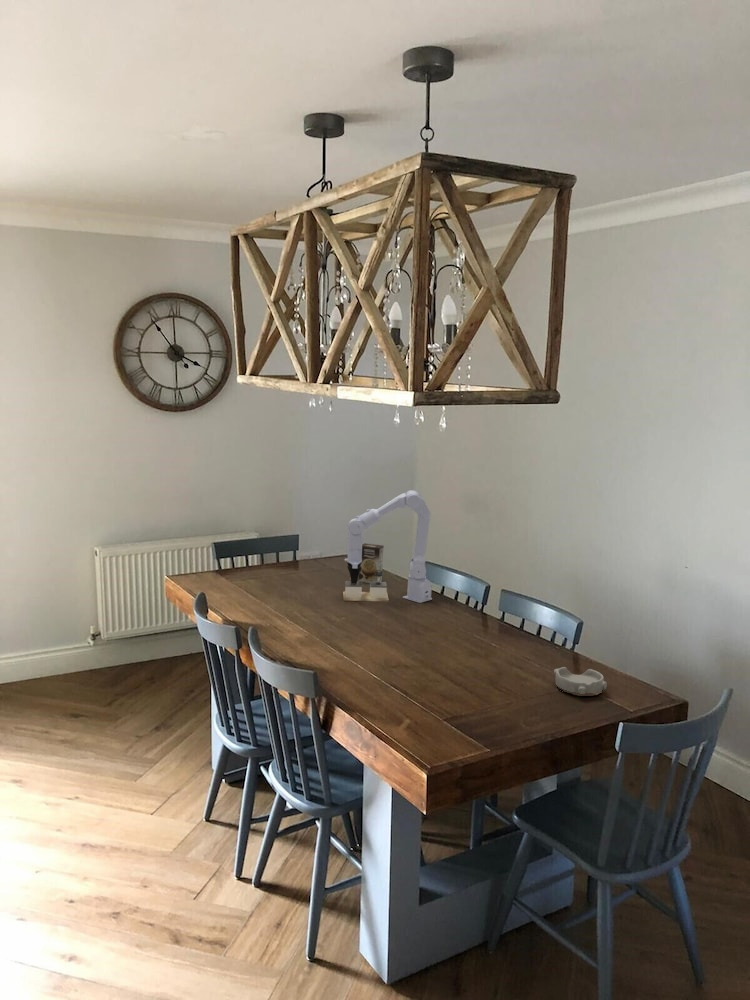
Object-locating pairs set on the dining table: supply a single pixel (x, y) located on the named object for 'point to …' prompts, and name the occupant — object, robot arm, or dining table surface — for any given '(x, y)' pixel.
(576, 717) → the dining table surface
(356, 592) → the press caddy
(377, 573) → the plunger
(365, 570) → the coffee box
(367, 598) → the serving board
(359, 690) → the dining table surface
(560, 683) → the dish
